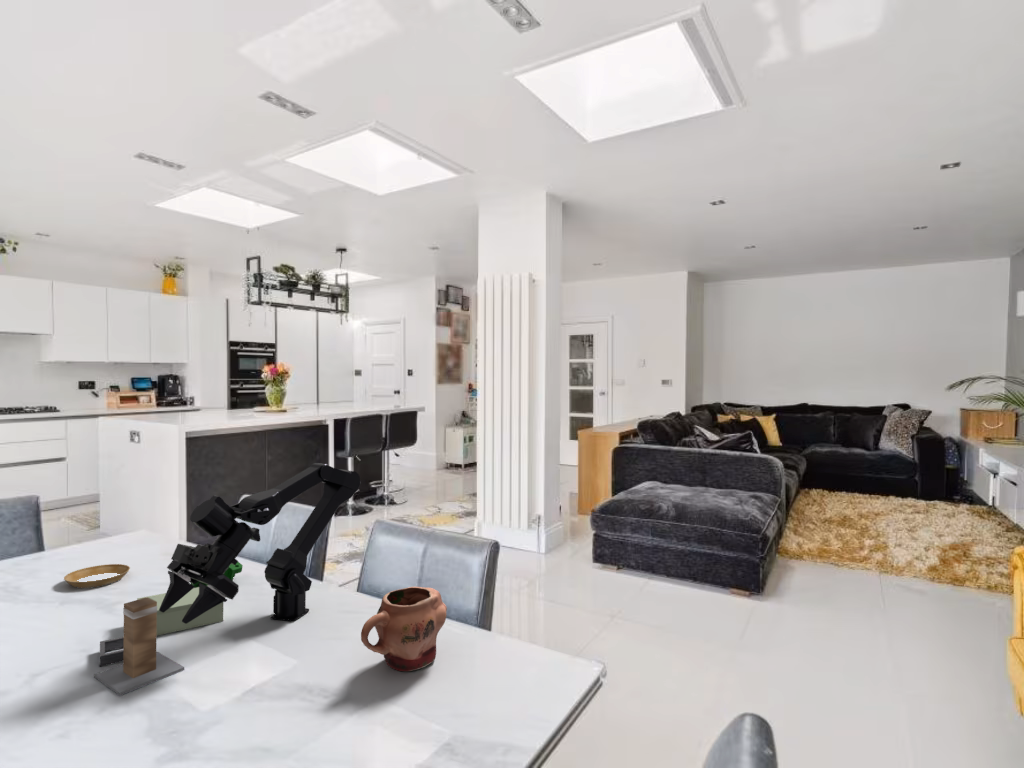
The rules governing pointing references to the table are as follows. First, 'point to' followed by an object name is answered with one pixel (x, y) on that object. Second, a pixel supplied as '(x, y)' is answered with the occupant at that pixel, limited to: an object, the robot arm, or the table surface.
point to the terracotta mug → (407, 627)
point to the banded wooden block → (139, 637)
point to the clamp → (227, 573)
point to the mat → (125, 683)
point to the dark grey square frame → (112, 656)
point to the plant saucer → (96, 570)
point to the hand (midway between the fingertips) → (172, 617)
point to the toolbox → (183, 613)
